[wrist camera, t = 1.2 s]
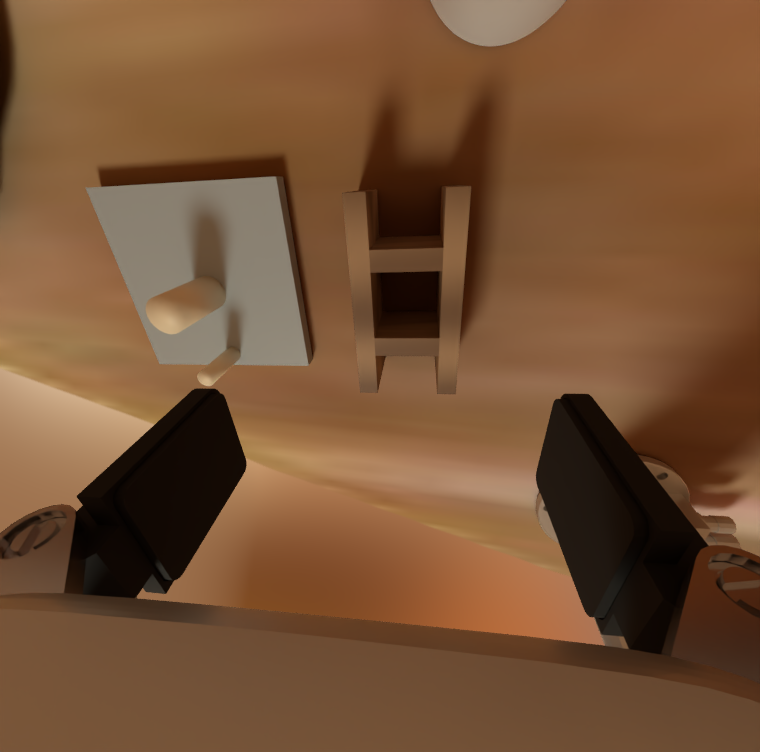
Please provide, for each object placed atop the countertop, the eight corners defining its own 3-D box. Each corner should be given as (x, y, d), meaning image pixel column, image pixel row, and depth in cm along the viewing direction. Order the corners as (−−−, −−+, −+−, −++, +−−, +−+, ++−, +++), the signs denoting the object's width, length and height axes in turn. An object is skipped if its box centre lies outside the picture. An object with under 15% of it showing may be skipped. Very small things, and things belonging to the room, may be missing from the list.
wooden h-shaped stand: (358, 190, 21) (342, 192, 17) (461, 185, 21) (471, 186, 16) (370, 359, 27) (360, 392, 23) (450, 359, 27) (455, 394, 22)
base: (282, 176, 21) (236, 175, 16) (312, 358, 28) (286, 400, 23) (100, 187, 23) (3, 189, 18) (168, 357, 29) (112, 396, 24)
